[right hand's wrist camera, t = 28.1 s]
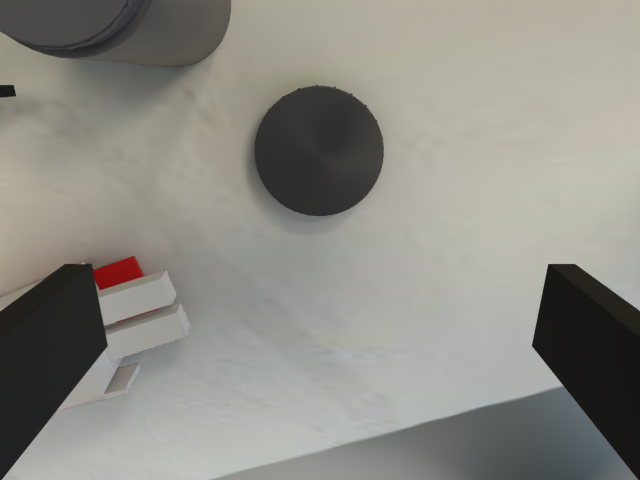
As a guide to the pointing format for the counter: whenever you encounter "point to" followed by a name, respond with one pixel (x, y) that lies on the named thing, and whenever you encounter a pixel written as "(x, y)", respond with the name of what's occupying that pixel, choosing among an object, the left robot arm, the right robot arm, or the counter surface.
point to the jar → (119, 29)
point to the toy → (125, 326)
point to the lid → (319, 151)
